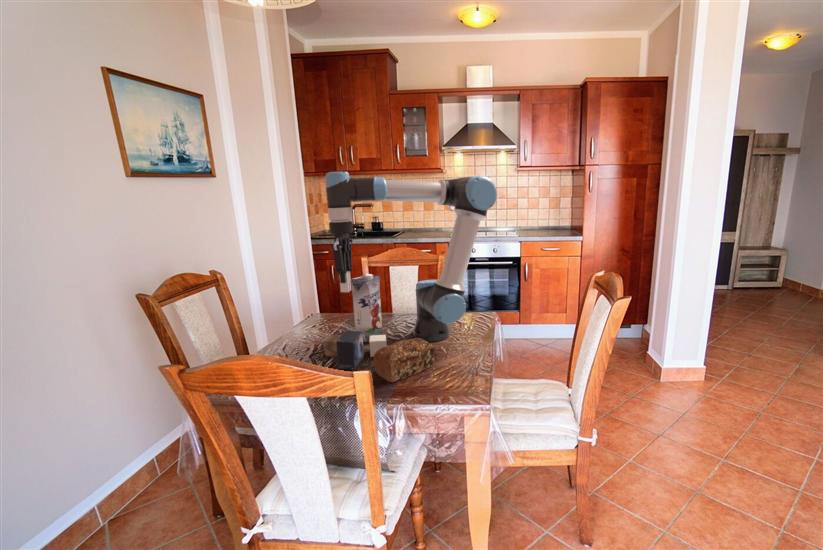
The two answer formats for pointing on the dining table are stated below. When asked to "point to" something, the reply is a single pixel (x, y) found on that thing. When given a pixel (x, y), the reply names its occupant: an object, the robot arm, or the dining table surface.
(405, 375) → the bread
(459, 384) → the dining table surface
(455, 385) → the dining table surface
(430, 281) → the robot arm
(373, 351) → the cream block
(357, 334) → the small box
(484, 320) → the dining table surface
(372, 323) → the juice carton
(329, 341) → the walnut block
